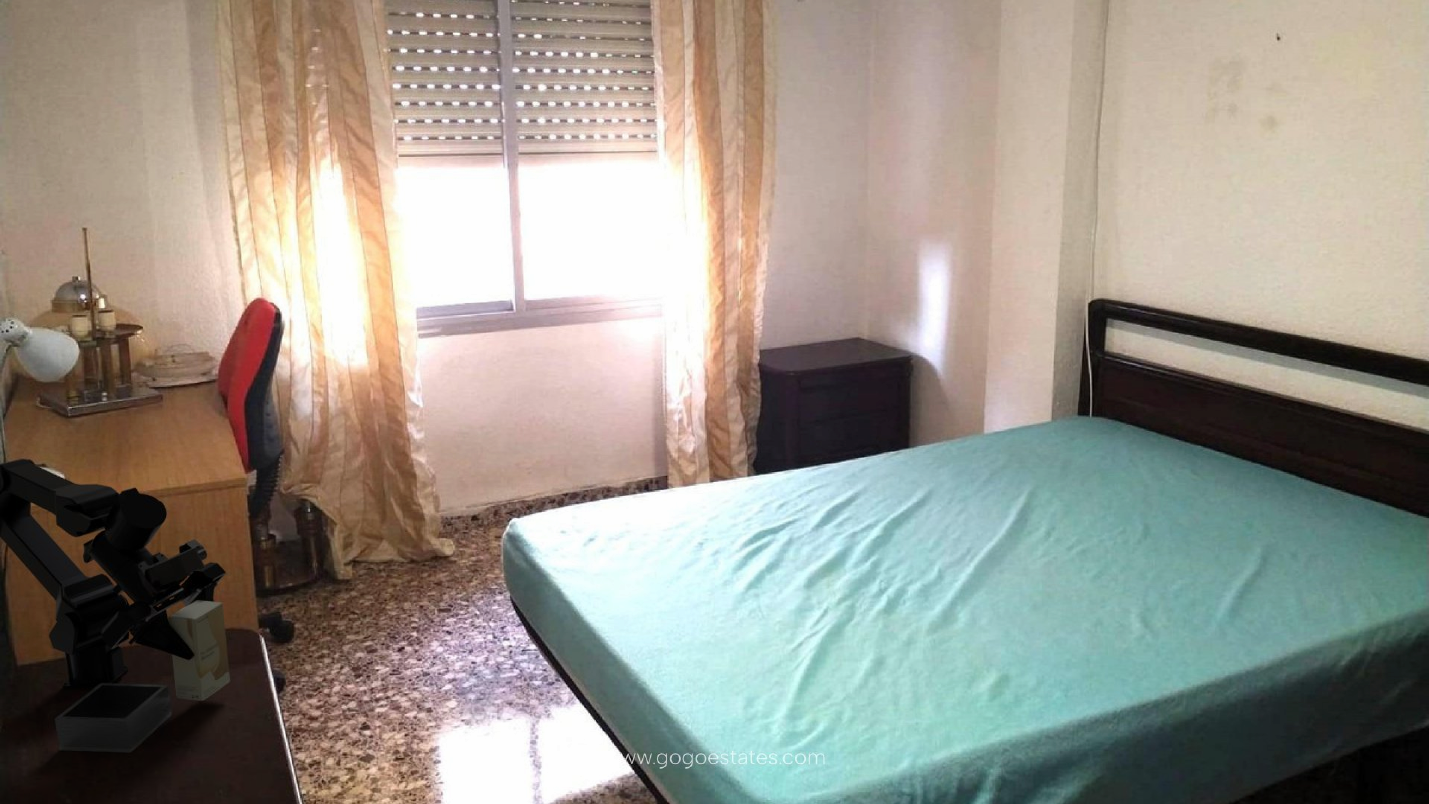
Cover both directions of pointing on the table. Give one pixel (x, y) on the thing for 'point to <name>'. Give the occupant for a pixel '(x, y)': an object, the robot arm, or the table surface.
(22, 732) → the table surface
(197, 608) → the skincare box
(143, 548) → the robot arm
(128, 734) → the grey open tray
